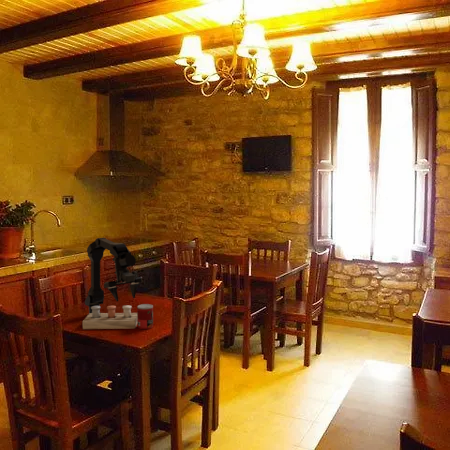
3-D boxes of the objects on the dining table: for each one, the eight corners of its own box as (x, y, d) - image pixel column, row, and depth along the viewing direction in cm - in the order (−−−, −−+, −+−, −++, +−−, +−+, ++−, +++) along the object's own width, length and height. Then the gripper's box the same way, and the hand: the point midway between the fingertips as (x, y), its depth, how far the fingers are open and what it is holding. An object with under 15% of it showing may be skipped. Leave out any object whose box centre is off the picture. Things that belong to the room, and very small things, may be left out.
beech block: (89, 320, 241) (89, 313, 241) (139, 320, 242) (138, 312, 242) (82, 329, 227) (82, 321, 227) (134, 328, 228) (134, 320, 228)
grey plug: (92, 316, 236) (92, 305, 236) (101, 316, 237) (101, 305, 236) (90, 319, 232) (90, 308, 231) (99, 319, 232) (99, 308, 231)
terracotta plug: (108, 316, 237) (107, 305, 236) (117, 316, 237) (116, 305, 236) (106, 319, 232) (105, 308, 232) (115, 319, 232) (115, 307, 232)
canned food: (150, 330, 226) (149, 308, 225) (135, 328, 228) (134, 307, 227) (155, 325, 234) (155, 304, 233) (140, 324, 235) (140, 303, 234)
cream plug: (123, 316, 237) (123, 305, 237) (132, 316, 237) (132, 305, 237) (121, 319, 232) (121, 307, 232) (130, 318, 233) (130, 307, 232)
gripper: (112, 269, 214) (116, 302, 212) (145, 264, 226) (150, 295, 225) (101, 271, 222) (105, 303, 220) (134, 267, 235) (138, 297, 233)
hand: (125, 299), depth 224 cm, fingers open, 9 cm apart
